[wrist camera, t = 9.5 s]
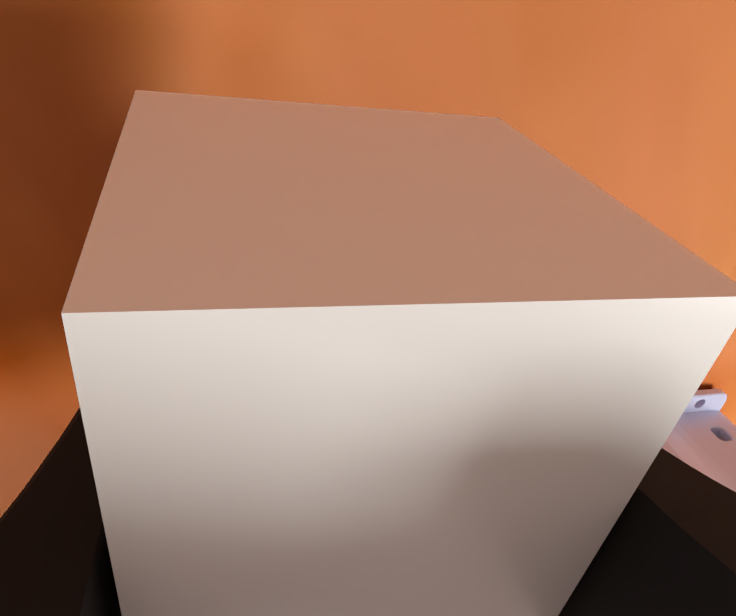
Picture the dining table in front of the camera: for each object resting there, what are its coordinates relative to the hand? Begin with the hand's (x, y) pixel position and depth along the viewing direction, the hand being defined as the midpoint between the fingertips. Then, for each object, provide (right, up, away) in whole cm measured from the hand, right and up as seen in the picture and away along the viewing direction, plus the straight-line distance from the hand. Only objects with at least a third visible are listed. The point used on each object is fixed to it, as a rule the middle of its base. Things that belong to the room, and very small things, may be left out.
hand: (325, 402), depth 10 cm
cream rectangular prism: (0, +1, +1) cm, 2 cm away
